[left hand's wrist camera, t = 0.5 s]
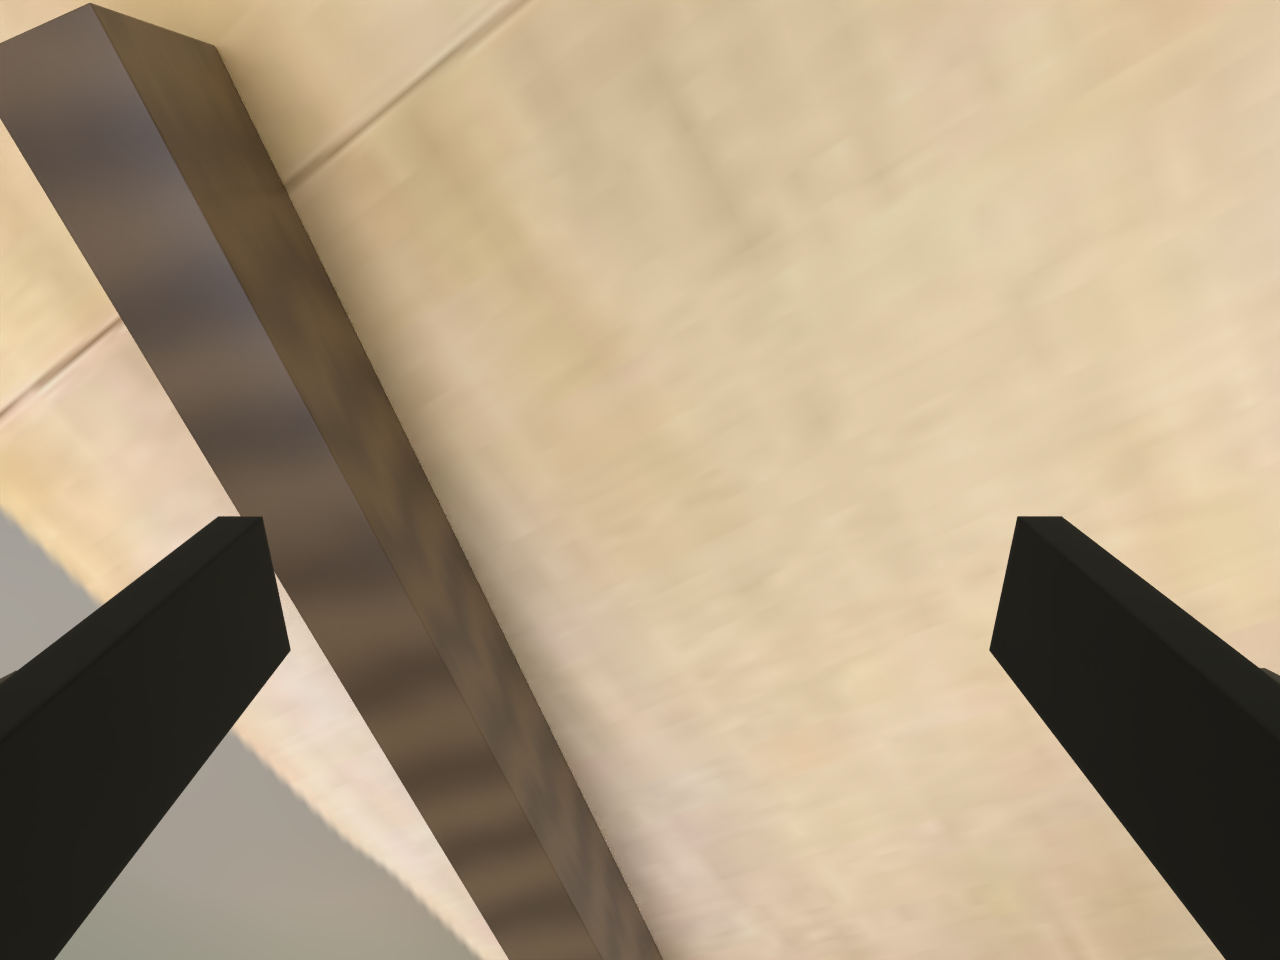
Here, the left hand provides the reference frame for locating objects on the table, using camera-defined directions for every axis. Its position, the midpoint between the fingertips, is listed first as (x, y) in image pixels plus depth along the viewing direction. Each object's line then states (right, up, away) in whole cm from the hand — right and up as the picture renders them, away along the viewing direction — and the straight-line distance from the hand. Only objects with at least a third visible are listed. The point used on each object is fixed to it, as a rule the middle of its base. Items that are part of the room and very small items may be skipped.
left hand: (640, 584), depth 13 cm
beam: (-10, -10, +32) cm, 35 cm away
